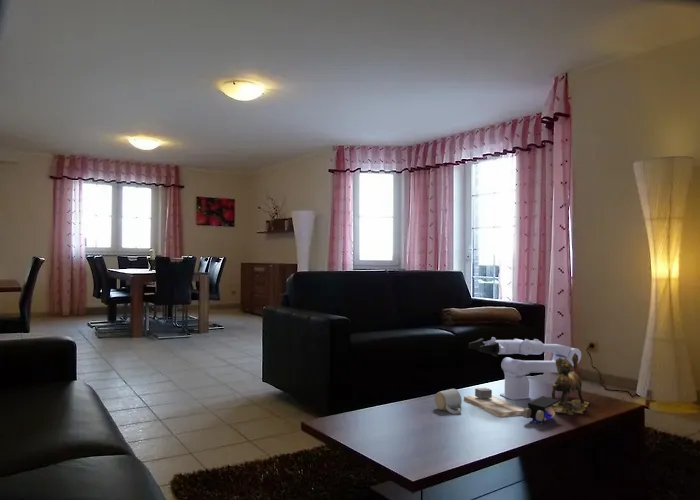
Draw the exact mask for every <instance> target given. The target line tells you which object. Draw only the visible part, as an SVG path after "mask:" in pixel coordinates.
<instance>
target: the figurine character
mask: <svg viewBox="0 0 700 500" xmlns="http://www.w3.org/2000/svg"><path fill="white" fill-rule="evenodd" d="M559 401H560V399H552V397H548V396H544V395H543V396H540V397H538V398H536V399H533V400H532V401H529V402H527V407H525V408H523V409H524V411H523V415H522V416H523V418H524V419H532V420H530V421H529V422H528V423H529V424H532V425H533V423H534V422H535V423H537V426H538V427H539V426H540V425H542V424H543V423H544V422H545V421H548V420H551V419H553V418H555V416H556V413H555V409H554V408H555V407H554V406H553V405H554V404H556V403H557V402H559Z"/></svg>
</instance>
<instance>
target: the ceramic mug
mask: <svg viewBox="0 0 700 500" xmlns="http://www.w3.org/2000/svg"><path fill="white" fill-rule="evenodd" d="M434 396H435V397H434V404H435V406H436V408H437V409H438V410H439V411H445V412H446V411H447V412H449V413H450V414H452V415H459V414H461V413H462V408H463V407H462V395H461V394H460V391H458V390H457V389H456V388H450V389H446V390H441V391H438V392H437V393H435V395H434ZM458 409H459V410H458Z"/></svg>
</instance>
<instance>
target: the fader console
mask: <svg viewBox="0 0 700 500" xmlns="http://www.w3.org/2000/svg"><path fill="white" fill-rule="evenodd" d="M463 401H464V402H467V403H468V404H471V405H473V406H476V407H478V408H480V409H482V410H484V411H486V412H488V413H490V414H493V415H495V416H496V417H500V418H503V417H513V416H523V411H524V409H525V408H523V407H520V406H519V405H517V404H513V403H511V402H508V401H506V400H504V399H501V398H499V397H497V396H494V395H492V398H484V399H480V398H478V397H476V396H475V395H466V396H463Z"/></svg>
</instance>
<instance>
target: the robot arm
mask: <svg viewBox="0 0 700 500" xmlns="http://www.w3.org/2000/svg"><path fill="white" fill-rule="evenodd" d="M468 349H470V350H476V351H479V352H480V353H482V354H483V353H484V354H489V355H492V356H493V357H496V358H497V357H498V356H499V355H514V354H515V355H516V354H517V355H518V354H519V355H522V356H523V355H525V356H528V355H541V354H543V353H553V356H552V359H551V360H524V359H523V360H522V359H516V358H515V359H514V358H512V357H509V356H508V357H507V356H506V357H504V358H503V359H502V361H501V364H500V366H501V370H502V371H503V374H504V393H499V396H501V397H504V398H506V399H509V400H512V401H513V400H514V401H515V400H524V399H531V396H530V380H529V378H528V376H527V375H529V374H531V373H558V371H557V367H556V359H559V357H560V358H562V359H565V358H567V359H568V361H569V362H570V363H571V364H572V367H574V364H573V361H572V357H573V355H574V353H576V354H577V355H578V364H579V363H580V361H581V359H582V352H581V350H580V349H579V348H577V347H575V348H574V347H571V346H567V345H563V344H558V343H543V342H542V341H541V340H539V339H537V338H533V340H530V339H528V338H524V340H523V339H519V338H513V339H497V338H496V337H494V336H492V337H491V339H490V340H486V341H484V338H482V337H481V338H479V339H477V340H475V341H472V342H469V343H468Z"/></svg>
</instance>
